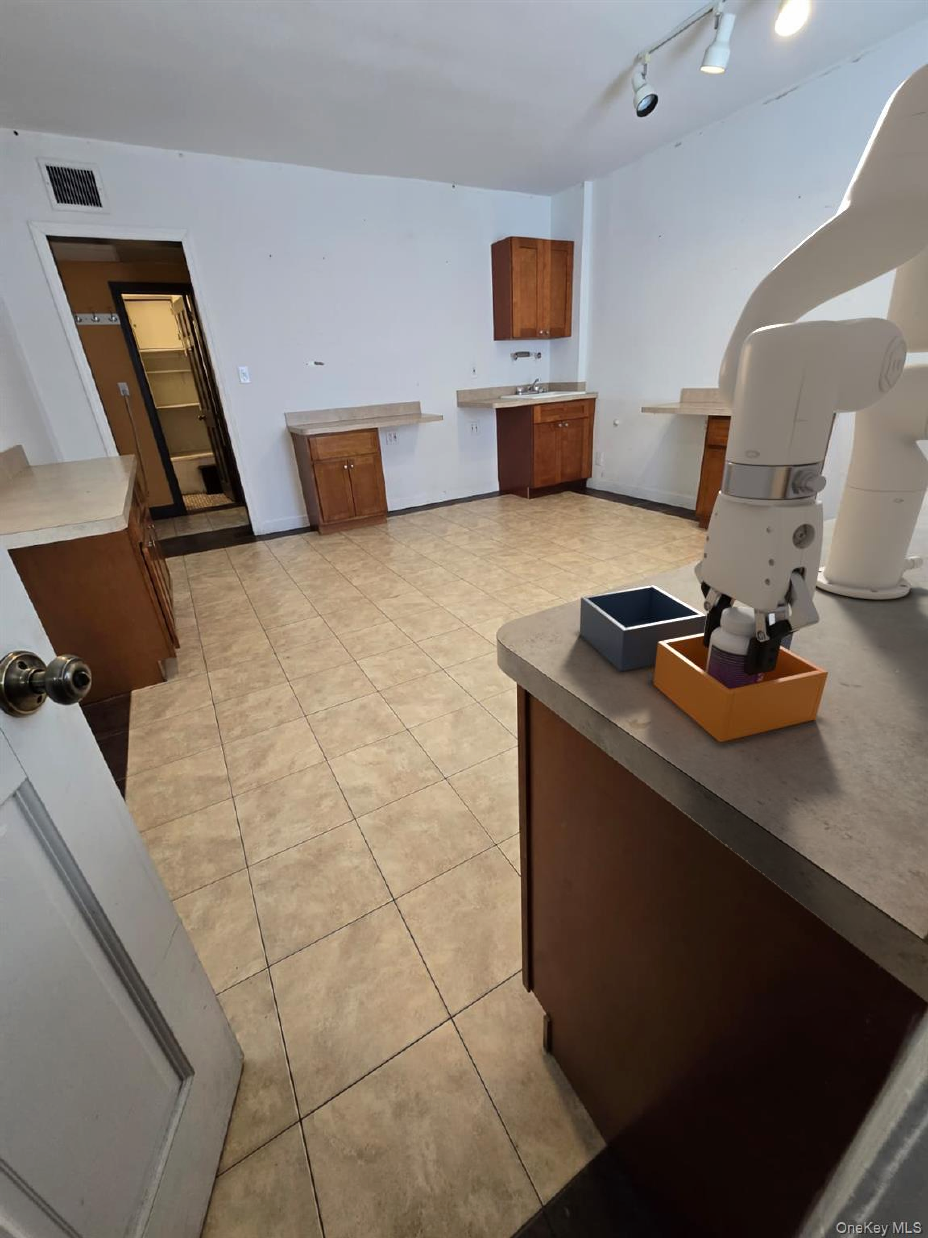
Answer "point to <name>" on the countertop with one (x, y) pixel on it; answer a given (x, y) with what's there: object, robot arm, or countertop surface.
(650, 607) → the blue bin
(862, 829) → the countertop surface
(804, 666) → the amber bin
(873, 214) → the robot arm
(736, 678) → the pill bottle
